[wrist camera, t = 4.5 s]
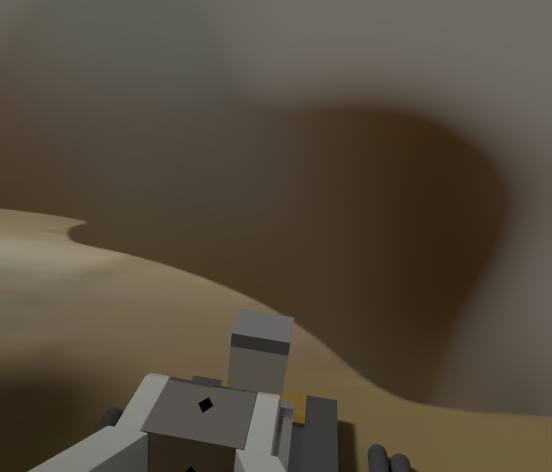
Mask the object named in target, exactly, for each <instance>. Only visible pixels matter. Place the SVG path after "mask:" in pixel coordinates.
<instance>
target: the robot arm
mask: <svg viewBox="0 0 552 472" xmlns="http://www.w3.org/2000/svg"><path fill="white" fill-rule="evenodd" d="M280 399H281V398H280V395H275V394H269V393H263V392H254V391H248V390H242V389H236V388H230V387H224V386H218V385H212V384H207V383H202V382H197V381H192V380H187V379H182V378H177V377H169V376H164V375H159V374H155V373H149V374H148V375H147V376H145V378H144V379H143V381H142V383H141V384H140V386H139V388H138V389H137V391H136V393H135V394H134V396H133V398H132V399H131V401H130V402H129V404H128V406H127V407H126V409H125V411H124V412H123V414H122V416H121V417H120V419H119V421H118V422H117V424H116V426H115V427H114V426H106V427H105V428H103V429H101V430H99V431H98V432H96V433H94V434H93V435H91V436H89V437H87V438H86V439H84V440H82V441H80V442H79V443H77V444H75V445H73V446H72V447H70V448H68V449H66V450H65V451H63V452H61V453H59V454H58V455H56V456H54V457H52V458H51V459H49V460H47V461H45V462H44V463H42V464H40V465H38V466H37V467H35V468H33V469H31V470H30V471H28V472H287V471H286V469H285V468H284V466H283V464H282V462H281V460H280V458H279V457H276V456H272V453H273V446H274V440H275V433H276V426H277V419H278V413H279V406H280Z"/></svg>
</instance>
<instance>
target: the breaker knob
mask: <svg viewBox="0 0 552 472" xmlns="http://www.w3.org/2000/svg"><path fill="white" fill-rule="evenodd" d="M293 320H294V318H293V317H287V316H281V315H275V314H269V313H263V312H257V311H251V310H244V309H241V310H240V313H239V315H238V318H237V321H236V323H235V326H234V329H233V331H232V337H231V348H230V359H229V370H228V381H227V387H230V388H236V389H242V390H248V391H254V392H263V393H269V394H275V395H280V398H281V399H280V406H279V413H280V407H281V400H282V393H283V387H284V380H285V374H286V367H287V360H288V354H289V347H290V341H291V334H292V327H293ZM279 413H278V419H277V426H278V420H279ZM277 426H276V433H277ZM276 433H275V440H276ZM275 440H274V446H275ZM274 446H273V453H274ZM273 453H272V456H273Z"/></svg>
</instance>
